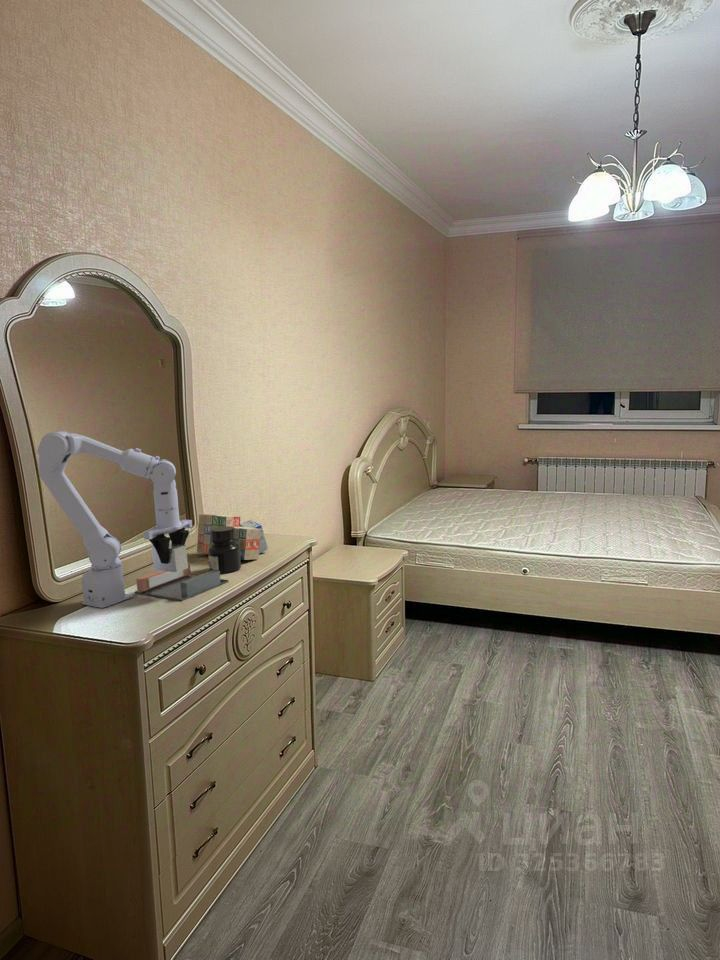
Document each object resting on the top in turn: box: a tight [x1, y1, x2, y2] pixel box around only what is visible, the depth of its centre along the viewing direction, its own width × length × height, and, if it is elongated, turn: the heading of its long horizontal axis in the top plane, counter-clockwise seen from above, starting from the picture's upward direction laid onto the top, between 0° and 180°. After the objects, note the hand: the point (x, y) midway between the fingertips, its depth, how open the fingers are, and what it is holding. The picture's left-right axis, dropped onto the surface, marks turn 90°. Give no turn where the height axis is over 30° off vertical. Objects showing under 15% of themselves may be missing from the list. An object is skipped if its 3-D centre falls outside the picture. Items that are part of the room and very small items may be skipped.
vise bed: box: [134, 570, 229, 602], centre depth 176 cm, size 17×17×4 cm
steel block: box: [151, 543, 189, 572], centre depth 170 cm, size 4×8×6 cm, turn 59°
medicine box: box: [240, 519, 269, 554], centre depth 209 cm, size 8×4×9 cm, turn 35°
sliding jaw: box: [135, 562, 192, 592], centre depth 179 cm, size 17×2×3 cm, turn 150°
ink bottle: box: [207, 526, 242, 574], centre depth 191 cm, size 10×9×12 cm
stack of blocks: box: [196, 513, 261, 561], centre depth 205 cm, size 21×6×12 cm, turn 54°
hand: (171, 560), depth 170 cm, fingers closed on steel block, 4 cm apart
